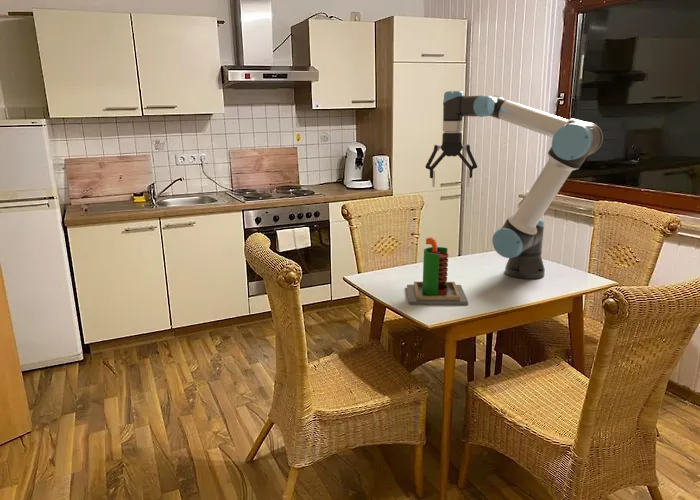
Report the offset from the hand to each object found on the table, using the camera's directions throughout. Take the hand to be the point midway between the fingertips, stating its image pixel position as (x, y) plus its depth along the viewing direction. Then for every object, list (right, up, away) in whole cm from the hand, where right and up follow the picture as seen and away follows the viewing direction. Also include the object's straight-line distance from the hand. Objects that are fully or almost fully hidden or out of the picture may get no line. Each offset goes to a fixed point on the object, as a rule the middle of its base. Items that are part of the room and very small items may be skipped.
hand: (450, 186), depth 212 cm
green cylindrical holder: (-10, -41, -22) cm, 48 cm away
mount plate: (-9, -42, -22) cm, 49 cm away
